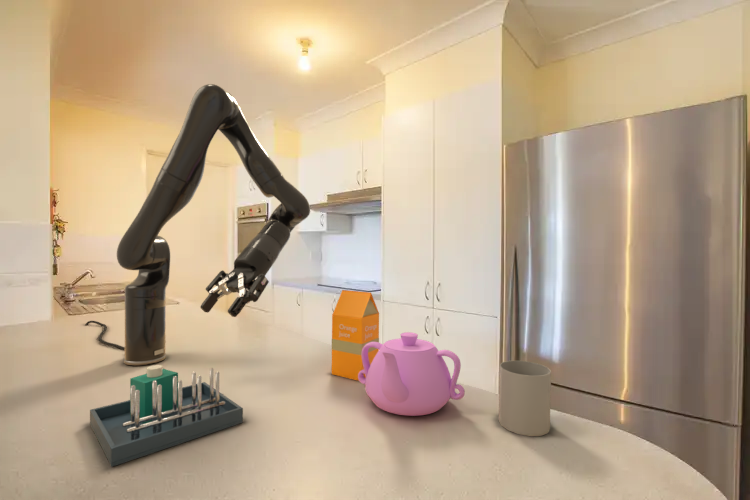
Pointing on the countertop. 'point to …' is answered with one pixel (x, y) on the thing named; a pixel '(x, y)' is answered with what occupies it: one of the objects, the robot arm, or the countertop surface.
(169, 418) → the dish rack
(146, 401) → the detergent bottle
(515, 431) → the cup
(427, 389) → the teapot
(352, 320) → the orange juice
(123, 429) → the drip tray
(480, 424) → the countertop surface
